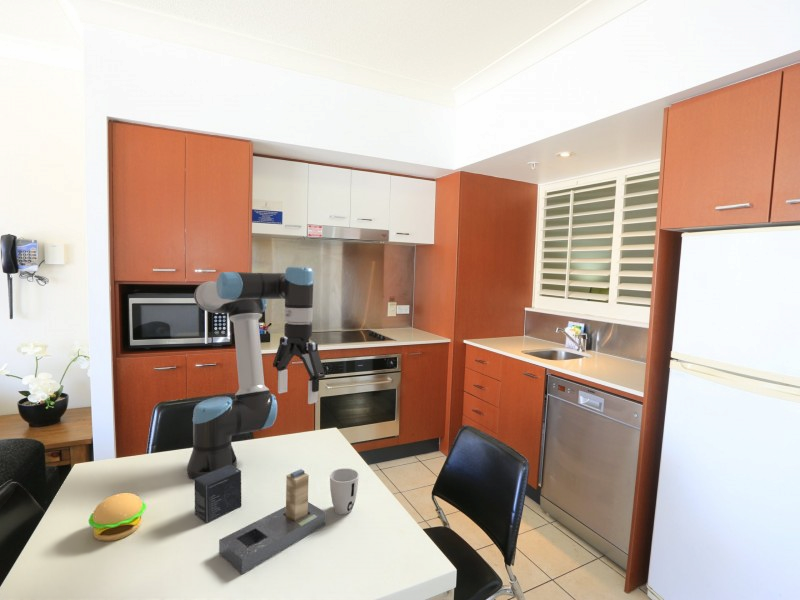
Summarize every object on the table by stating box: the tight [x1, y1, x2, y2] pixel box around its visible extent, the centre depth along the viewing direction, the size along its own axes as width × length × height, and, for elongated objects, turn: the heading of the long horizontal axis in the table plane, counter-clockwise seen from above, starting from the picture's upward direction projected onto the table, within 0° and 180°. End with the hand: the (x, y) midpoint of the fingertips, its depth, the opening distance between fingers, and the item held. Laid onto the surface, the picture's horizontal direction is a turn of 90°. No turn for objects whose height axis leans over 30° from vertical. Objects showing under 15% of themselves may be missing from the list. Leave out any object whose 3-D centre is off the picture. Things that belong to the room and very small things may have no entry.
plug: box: [285, 468, 309, 522], centre depth 107 cm, size 4×4×15 cm
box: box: [193, 465, 242, 524], centre depth 113 cm, size 11×7×10 cm, turn 145°
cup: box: [329, 467, 360, 515], centre depth 116 cm, size 8×8×10 cm
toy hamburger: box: [88, 492, 147, 542], centre depth 104 cm, size 12×12×9 cm
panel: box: [218, 501, 327, 575], centre depth 102 cm, size 10×24×4 cm, turn 141°
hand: (297, 397), depth 115 cm, fingers open, 13 cm apart
